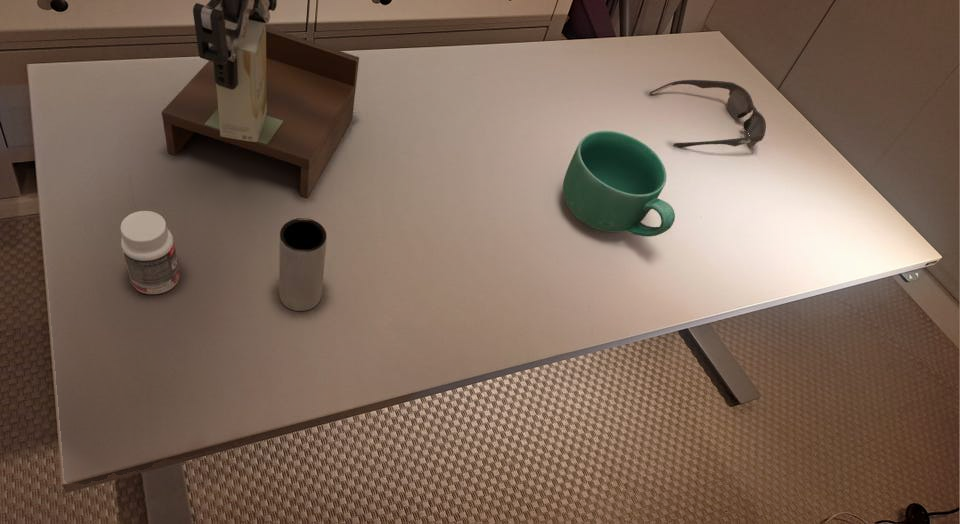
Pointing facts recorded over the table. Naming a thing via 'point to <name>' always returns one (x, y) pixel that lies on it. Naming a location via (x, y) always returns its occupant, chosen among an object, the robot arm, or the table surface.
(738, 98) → the sunglasses
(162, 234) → the pill bottle
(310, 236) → the grey cylindrical cup
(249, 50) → the cosmetic box
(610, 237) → the table surface
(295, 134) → the shelf
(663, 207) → the mug
